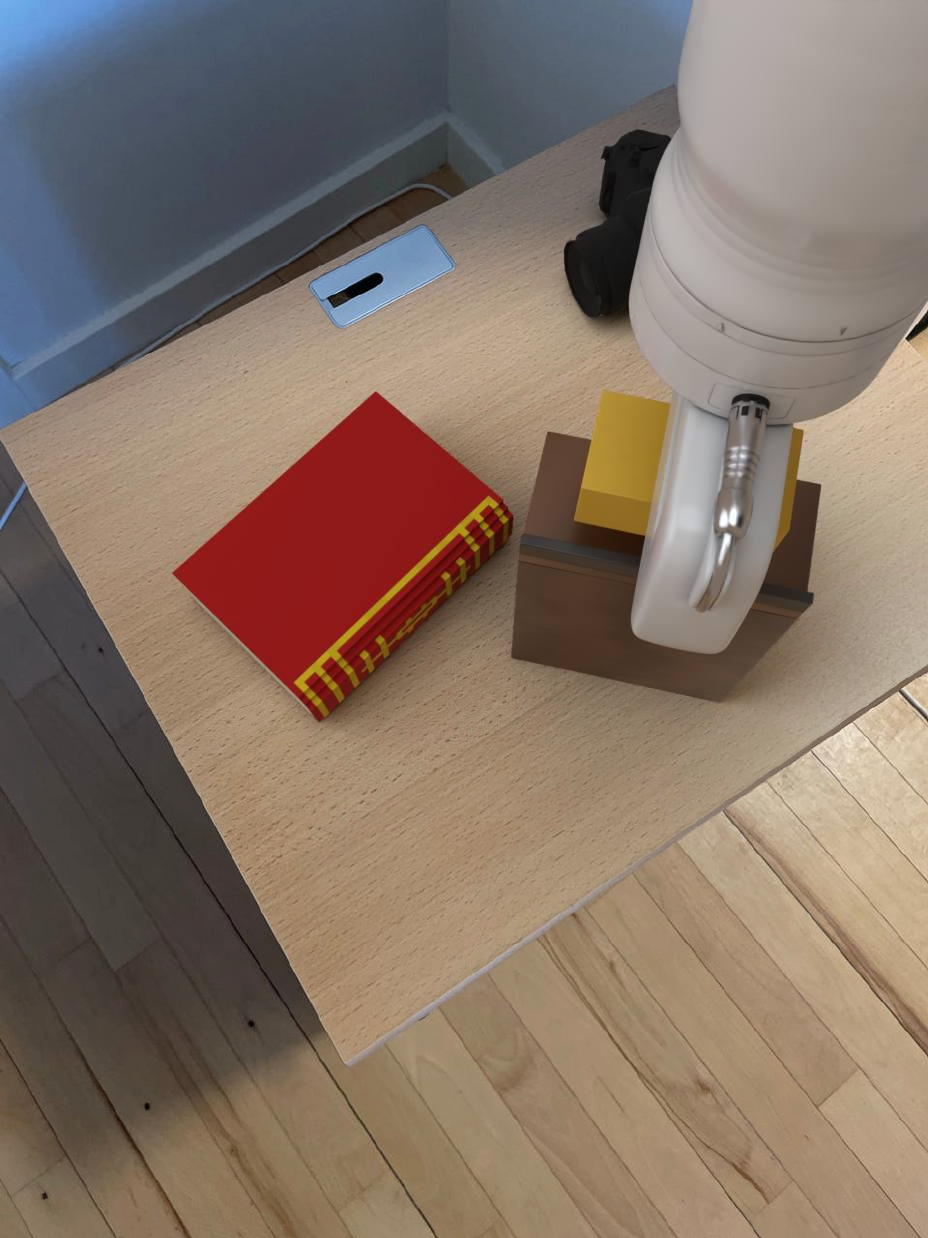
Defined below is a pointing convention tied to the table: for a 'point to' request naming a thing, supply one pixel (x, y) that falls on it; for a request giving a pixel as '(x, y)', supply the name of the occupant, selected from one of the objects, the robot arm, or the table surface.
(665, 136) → the film camera
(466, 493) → the book
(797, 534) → the top shelf
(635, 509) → the yellow box
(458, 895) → the table surface
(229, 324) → the table surface
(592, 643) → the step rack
